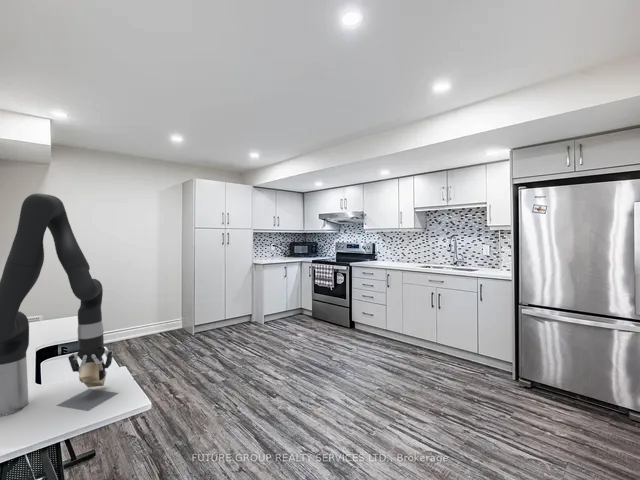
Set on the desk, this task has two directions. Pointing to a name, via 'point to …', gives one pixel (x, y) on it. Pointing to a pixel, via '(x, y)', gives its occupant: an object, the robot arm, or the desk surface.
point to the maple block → (91, 375)
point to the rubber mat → (87, 399)
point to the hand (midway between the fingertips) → (92, 380)
